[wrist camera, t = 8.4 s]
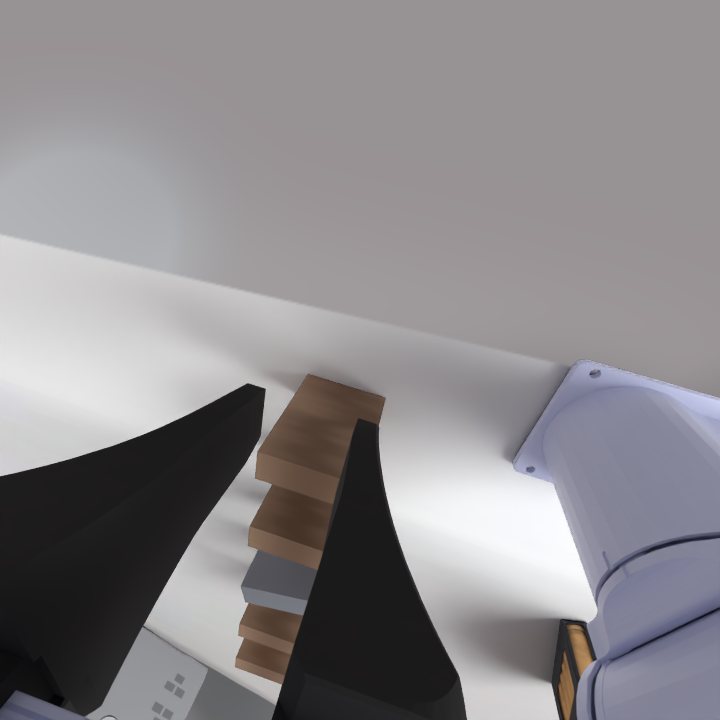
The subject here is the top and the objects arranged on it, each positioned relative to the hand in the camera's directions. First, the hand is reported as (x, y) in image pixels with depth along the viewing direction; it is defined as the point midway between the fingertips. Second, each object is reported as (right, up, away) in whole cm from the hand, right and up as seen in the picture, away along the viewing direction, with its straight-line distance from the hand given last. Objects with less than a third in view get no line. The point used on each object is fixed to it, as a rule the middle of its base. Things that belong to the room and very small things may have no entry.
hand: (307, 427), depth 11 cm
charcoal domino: (-2, -10, +17) cm, 19 cm away
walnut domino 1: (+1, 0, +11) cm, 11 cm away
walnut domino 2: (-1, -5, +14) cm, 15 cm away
